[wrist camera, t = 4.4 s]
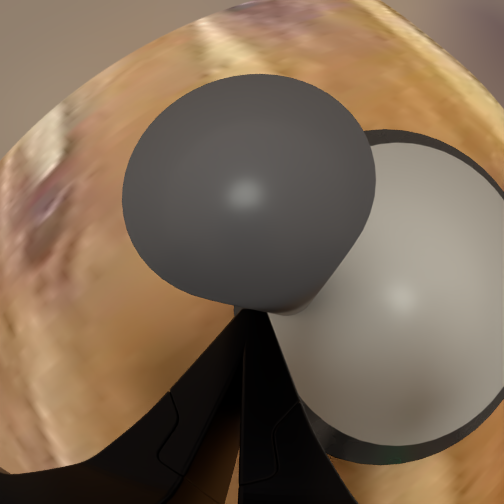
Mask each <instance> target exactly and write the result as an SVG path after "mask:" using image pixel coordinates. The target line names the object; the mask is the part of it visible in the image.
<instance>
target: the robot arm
mask: <svg viewBox="0 0 504 504" xmlns="http://www.w3.org/2000/svg"><path fill="white" fill-rule="evenodd" d="M239 446H240V452H239V489H238V504H358V502H357V501H356V500H355V499H354V497H353V496H352V495H351V493H350V492H349V490H348V489H347V487H346V486H345V484H344V482H343V481H342V479H341V478H340V476H339V474H338V473H337V471H336V469H335V468H334V466H333V464H332V463H331V461H330V459H329V458H328V456H327V454H326V453H325V451H324V449H323V448H322V446H321V444H320V442H319V440H318V438H317V436H316V434H315V433H314V430H313V428H312V426H311V424H310V421H309V419H308V417H307V414H306V412H305V409H304V407H303V404H302V403H301V399H300V397H299V394H298V392H297V389H296V386H295V384H294V381H293V379H292V376H291V373H290V371H289V368H288V366H287V363H286V360H285V358H284V355H283V353H282V350H281V347H280V345H279V342H278V339H277V337H276V334H275V332H274V329H273V326H272V324H271V321H270V318H269V316H268V313H267V312H262V311H257V310H253V309H248V308H243V309H241V310H240V311H239V312H238V313H237V315H236V316H235V317H234V318H233V319H232V320H231V321H230V323H229V324H228V325H227V326H226V327H225V328H224V330H223V331H222V332H221V333H220V334H219V335H218V336H217V337H216V339H215V340H214V341H213V342H212V343H211V344H210V345H209V347H208V348H207V349H206V350H205V351H204V352H203V353H202V354H201V356H200V357H199V358H198V359H197V360H196V361H195V362H194V363H193V364H192V366H191V367H190V368H189V369H188V370H187V371H186V372H185V373H184V374H183V376H182V377H181V378H180V379H179V380H178V381H177V382H176V383H175V384H174V385H173V387H172V388H171V389H170V392H169V391H168V392H167V393H166V394H165V395H164V396H163V397H162V398H161V399H160V400H159V402H158V403H157V404H156V405H155V406H154V407H153V408H152V409H151V410H150V411H149V412H148V413H147V414H146V415H144V416H143V417H142V418H141V419H140V420H139V421H138V422H136V423H135V424H134V425H133V426H132V427H131V428H129V429H128V430H127V431H126V432H125V433H123V434H122V435H121V436H120V437H118V438H117V439H116V440H115V441H113V442H112V443H111V444H110V445H108V446H107V447H106V448H105V449H103V450H102V451H101V452H99V453H98V454H97V455H95V456H93V457H92V458H90V459H88V460H86V461H83V462H81V463H78V464H74V465H69V466H65V467H60V468H54V469H49V470H43V471H37V472H30V473H22V474H10V473H9V472H7V471H5V470H4V469H2V468H1V467H0V504H225V500H226V497H227V493H228V489H229V485H230V482H231V478H232V474H233V470H234V466H235V462H236V458H237V454H238V450H239Z"/></svg>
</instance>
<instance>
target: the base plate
mask: <svg viewBox="0 0 504 504" xmlns="http://www.w3.org/2000/svg"><path fill="white" fill-rule="evenodd" d="M364 133H365V135H366V137H367V139H368V142H369V145H370V146H374V145H378V144H386V143H413V144H418V145H423V146H428V147H431V148H435V149H438V150H441V151H443V152H446V153H448V154H450V155H452V156H454V157H456V158H458V159H460V160H461V161H463V162H464V163H466V164H467V165H469V166H471V167H472V168H473V169H474V170H476V171H477V172H478V173H479V174H480V175H482V176H483V177H484V178H485V179H486V180H487V181H488V182H489V183H490V184H491V185H492V186H493V187H494V188H495V189H496V191H497V192H498V193H499V195H500V196H501V197H502V199H503V200H504V192H503V190H502V189H501V188H500V187H499V185H498V184H497V183H496V182H495V180H494V179H493V178H492V177H491V176H490V175H489V174H488V173H487V172H486V171H485V170H484V169H483V168H482V167H481V166H479V165H478V164H477V163H476V162H475V161H473V160H472V159H471V158H470V157H468V156H467V155H465V154H464V153H462V152H460V151H459V150H457V149H456V148H454V147H452V146H450V145H448V144H446V143H444V142H442V141H440V140H437V139H434V138H431V137H428V136H425V135H422V134H418V133H413V132H408V131H403V130H387V129H383V130H369V131H364ZM241 309H243V307H239V306H234V316H236V315H237V313H238V312H239V311H240V310H241ZM299 397H300V396H299ZM300 399H301V403H302V404H303V407H304V409H305V412H306V414H307V417H308V419H309V421H310V424H311V426H312V428H313V430H314V433H315V434H316V436H317V438H318V440H319V442H320V444H321V446H322V448H323V449H324V451H325V453H327V454H329V455H331V456H334V457H336V458H339V459H343V460H347V461H351V462H355V463H360V464H372V465H390V464H401V463H406V462H411V461H415V460H419V459H423V458H426V457H428V456H431V455H433V454H436V453H439V452H441V451H443V450H445V449H447V448H448V447H450V446H452V445H454V444H456V443H457V442H459V441H460V440H462V439H463V438H465V437H466V436H467V435H469V434H470V433H471V432H473V431H474V430H475V429H476V428H477V427H479V426H480V425H481V424H482V423H483V422H484V421H485V420H486V419H487V418H488V417H489V416H490V415H491V414H492V413H493V411H494V410H495V409H496V408H497V407H498V405H499V404H500V403H501V402H502V400H503V399H504V387H503V388H502V389H501V391H500V392H499V393H498V394H497V396H496V397H495V398H494V399H493V401H492V402H491V403H490V404H489V405H488V406H487V407H486V408H485V409H484V410H483V411H482V412H481V413H479V414H478V415H477V416H476V417H474V418H473V419H472V420H470V421H469V422H468V423H467V424H465V425H463V426H462V427H460V428H458V429H457V430H455V431H453V432H451V433H449V434H447V435H444V436H442V437H440V438H437V439H435V440H431V441H427V442H423V443H419V444H413V445H403V446H390V445H378V444H374V443H369V442H365V441H361V440H359V439H356V438H354V437H351V436H349V435H346V434H344V433H342V432H340V431H339V430H337V429H336V428H334V427H332V426H331V425H329V424H327V423H326V422H325V421H324V420H323V419H321V418H320V417H319V416H318V415H317V414H315V413H314V412H313V411H312V410H311V409H310V408H309V407H308V405H307V404H306V403H305V402H304V401H303V400H302V398H301V397H300Z"/></svg>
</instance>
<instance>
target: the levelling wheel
mask: <svg viewBox="0 0 504 504" xmlns="http://www.w3.org/2000/svg"><path fill="white" fill-rule="evenodd" d="M122 206H123V216H124V220H125V224H126V228H127V231H128V234H129V236H130V239H131V241H132V243H133V245H134V247H135V248H136V250H137V252H138V253H139V255H140V257H141V258H142V259H143V260H144V261H145V263H146V264H147V265H148V266H149V267H150V268H151V269H152V270H153V271H154V272H155V273H156V274H157V275H158V276H160V277H161V278H162V279H163V280H165V281H166V282H168V283H169V284H171V285H173V286H174V287H176V288H178V289H180V290H182V291H184V292H187V293H189V294H191V295H194V296H198V297H201V298H205V299H208V300H212V301H217V302H221V303H225V304H230V305H234V306H239V307H243V308H248V309H253V310H257V311H262V312H267V313H268V316H269V318H270V321H271V324H272V326H273V329H274V332H275V334H276V337H277V339H278V342H279V345H280V347H281V350H282V353H283V355H284V358H285V360H286V363H287V366H288V368H289V371H290V373H291V376H292V379H293V381H294V384H295V386H296V389H297V392H298V394H299V396H300V397H301V398H302V400H303V401H304V402H305V403H306V404H307V405H308V407H309V408H310V409H311V410H312V411H313V412H314V413H315V414H317V415H318V416H319V417H320V418H321V419H323V420H324V421H325V422H326V423H327V424H329V425H331V426H332V427H334V428H336V429H337V430H339V431H340V432H342V433H344V434H346V435H349V436H351V437H354V438H356V439H359V440H361V441H365V442H369V443H374V444H378V445H390V446H403V445H413V444H419V443H423V442H427V441H431V440H435V439H437V438H440V437H442V436H444V435H447V434H449V433H451V432H453V431H455V430H457V429H458V428H460V427H462V426H463V425H465V424H467V423H468V422H469V421H470V420H472V419H473V418H474V417H476V416H477V415H478V414H479V413H481V412H482V411H483V410H484V409H485V408H486V407H487V406H488V405H489V404H490V403H491V402H492V401H493V399H494V398H495V397H496V396H497V394H498V393H499V392H500V391H501V389H502V388H503V387H504V200H503V199H502V197H501V196H500V195H499V193H498V192H497V191H496V189H495V188H494V187H493V186H492V185H491V184H490V183H489V182H488V181H487V180H486V179H485V178H484V177H483V176H482V175H480V174H479V173H478V172H477V171H476V170H474V169H473V168H472V167H471V166H469V165H467V164H466V163H464V162H463V161H461V160H460V159H458V158H456V157H454V156H452V155H450V154H448V153H446V152H443V151H441V150H438V149H435V148H431V147H428V146H423V145H418V144H413V143H386V144H378V145H374V146H370V145H369V142H368V139H367V137H366V135H365V133H364V131H363V130H362V128H361V126H360V125H359V123H358V122H357V120H356V119H355V118H354V117H353V115H352V114H351V113H350V112H349V111H348V110H347V109H346V108H345V107H344V106H343V105H342V104H341V103H340V102H339V101H337V100H336V99H335V98H333V97H332V96H331V95H329V94H328V93H326V92H324V91H322V90H321V89H319V88H317V87H315V86H313V85H310V84H308V83H306V82H303V81H300V80H296V79H293V78H289V77H284V76H278V75H268V74H248V75H240V76H233V77H229V78H224V79H220V80H217V81H214V82H211V83H208V84H206V85H203V86H201V87H199V88H197V89H195V90H193V91H191V92H189V93H187V94H186V95H184V96H182V97H181V98H179V99H178V100H177V101H175V102H174V103H172V104H171V105H170V106H169V107H167V108H166V109H165V110H164V111H163V112H162V113H161V114H160V115H159V116H158V117H157V118H156V119H155V120H154V121H153V122H152V123H151V124H150V126H149V127H148V128H147V130H146V131H145V132H144V134H143V135H142V136H141V138H140V140H139V141H138V143H137V145H136V147H135V148H134V151H133V153H132V155H131V157H130V160H129V163H128V166H127V169H126V172H125V177H124V183H123V192H122Z"/></svg>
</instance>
